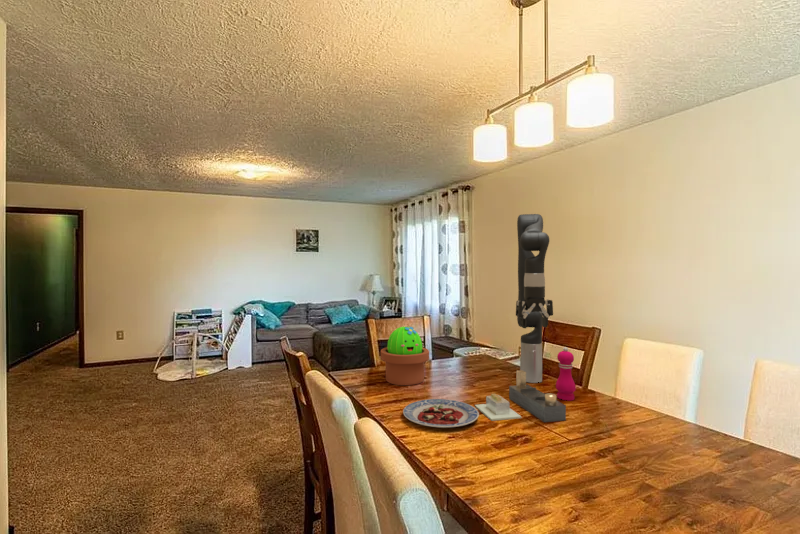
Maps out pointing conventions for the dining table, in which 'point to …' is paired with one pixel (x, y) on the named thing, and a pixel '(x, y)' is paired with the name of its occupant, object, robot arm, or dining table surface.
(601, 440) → the dining table surface
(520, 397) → the hand plane
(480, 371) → the dining table surface
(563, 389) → the pepper mill
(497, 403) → the white rectangular block
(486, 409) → the rubber mat
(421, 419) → the ceramic plate
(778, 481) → the dining table surface
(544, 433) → the dining table surface
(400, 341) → the potted cactus
